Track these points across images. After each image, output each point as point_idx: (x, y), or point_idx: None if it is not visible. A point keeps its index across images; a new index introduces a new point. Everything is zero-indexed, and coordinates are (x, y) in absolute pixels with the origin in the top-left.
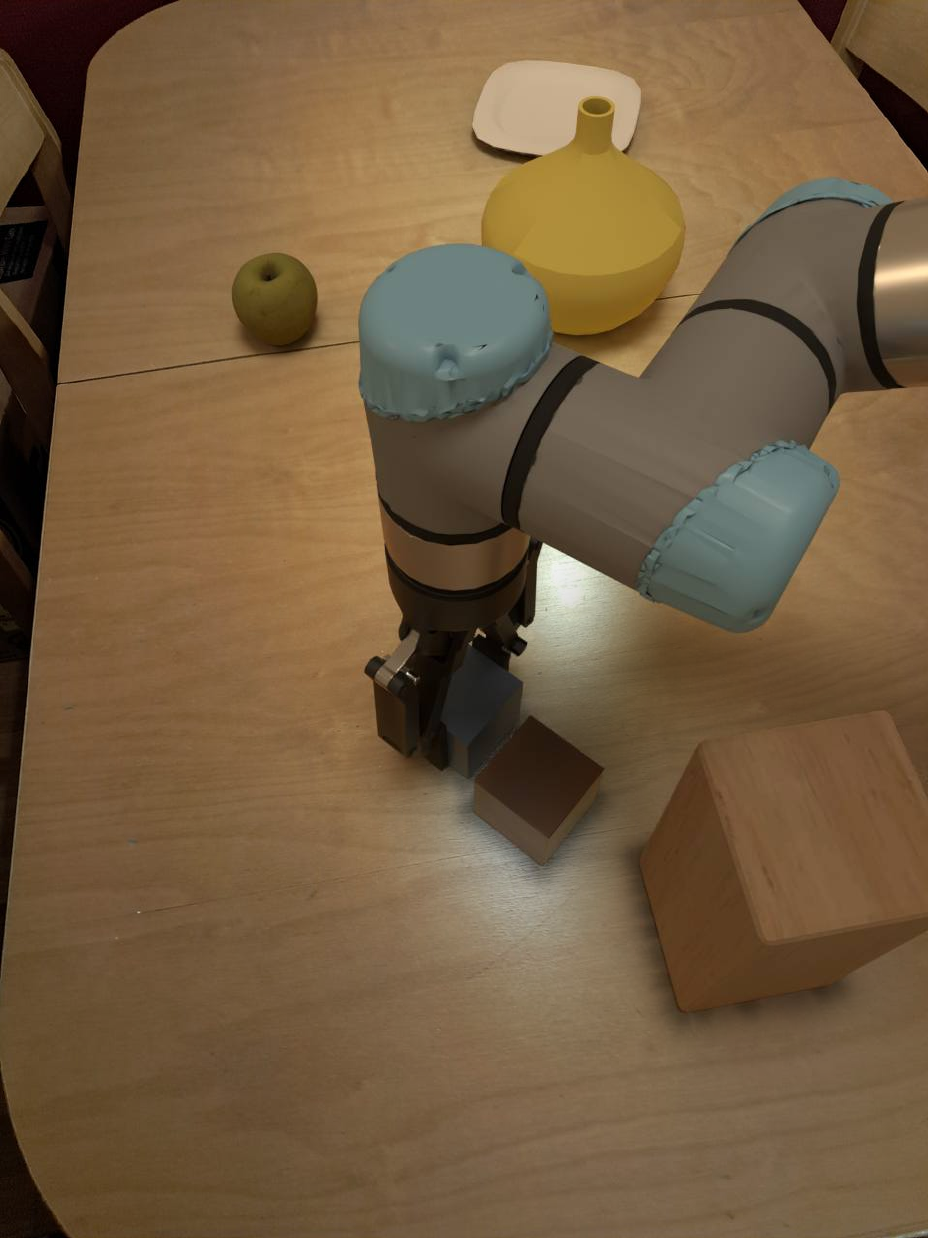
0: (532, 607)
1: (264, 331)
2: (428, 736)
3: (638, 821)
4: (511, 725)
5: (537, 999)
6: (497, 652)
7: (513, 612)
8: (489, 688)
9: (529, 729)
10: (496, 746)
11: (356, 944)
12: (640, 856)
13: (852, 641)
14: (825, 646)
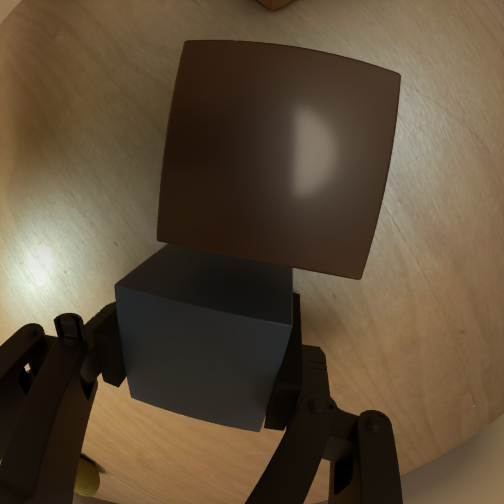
0: (4, 351)
1: (92, 479)
2: (328, 412)
3: (225, 32)
4: None
5: (471, 75)
6: (103, 350)
7: (37, 364)
8: (161, 333)
9: (185, 226)
10: None
11: (492, 273)
12: (273, 5)
13: (7, 39)
14: (11, 47)
